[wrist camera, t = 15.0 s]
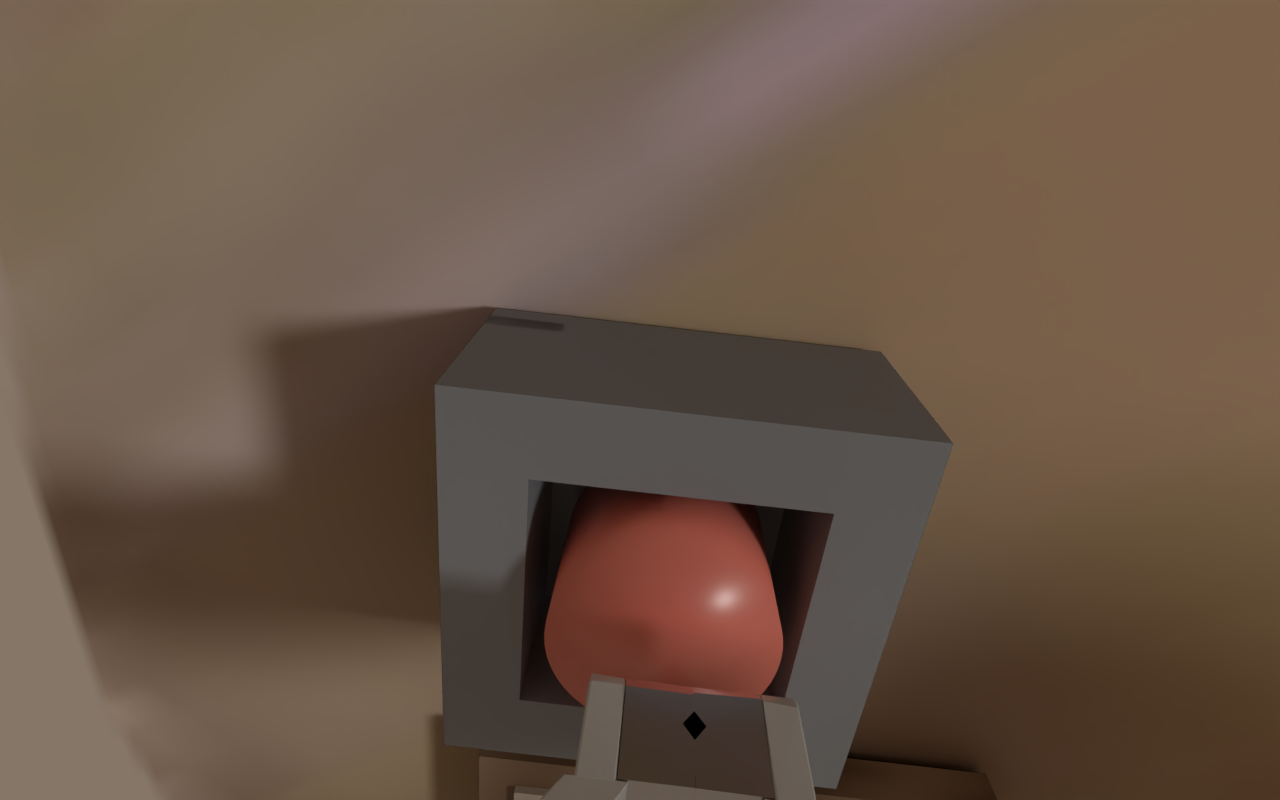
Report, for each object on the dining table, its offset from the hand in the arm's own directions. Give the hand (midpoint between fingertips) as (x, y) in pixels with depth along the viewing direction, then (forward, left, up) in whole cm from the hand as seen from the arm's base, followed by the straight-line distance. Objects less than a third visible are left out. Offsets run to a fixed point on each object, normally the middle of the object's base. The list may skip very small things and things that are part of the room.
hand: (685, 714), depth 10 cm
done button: (0, 0, -5) cm, 5 cm away
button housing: (0, 0, -6) cm, 6 cm away
